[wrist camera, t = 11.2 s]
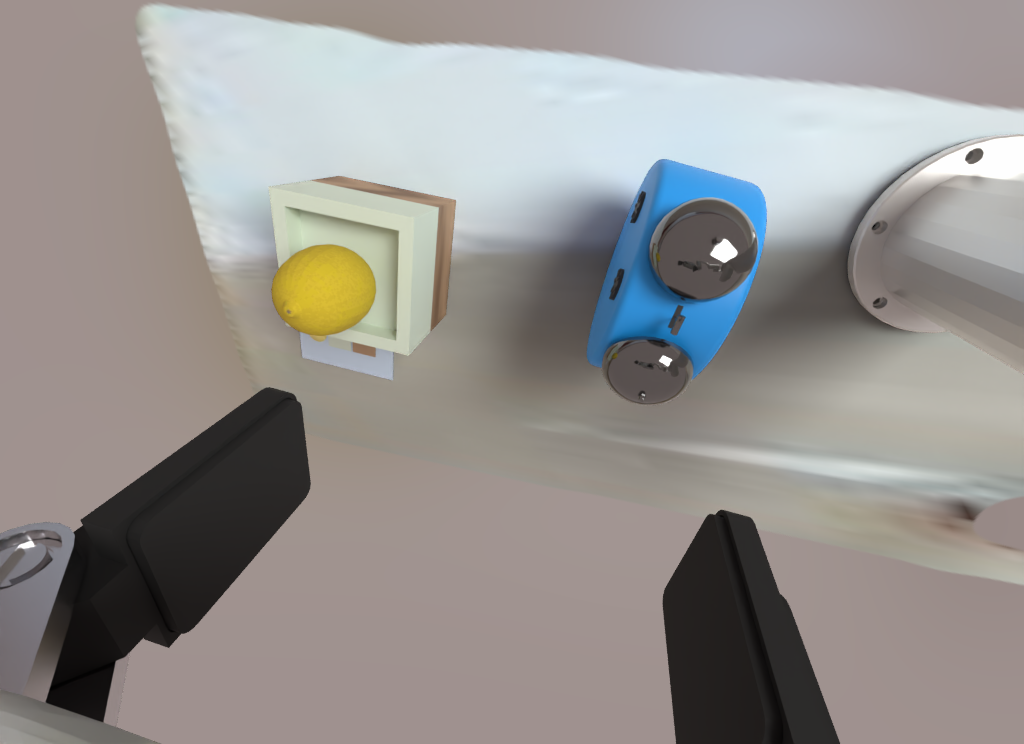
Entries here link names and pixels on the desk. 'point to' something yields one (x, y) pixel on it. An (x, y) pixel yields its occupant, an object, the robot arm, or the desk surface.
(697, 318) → the alarm clock
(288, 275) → the lemon
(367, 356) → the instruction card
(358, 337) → the top brick
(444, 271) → the base brick
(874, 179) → the desk surface
